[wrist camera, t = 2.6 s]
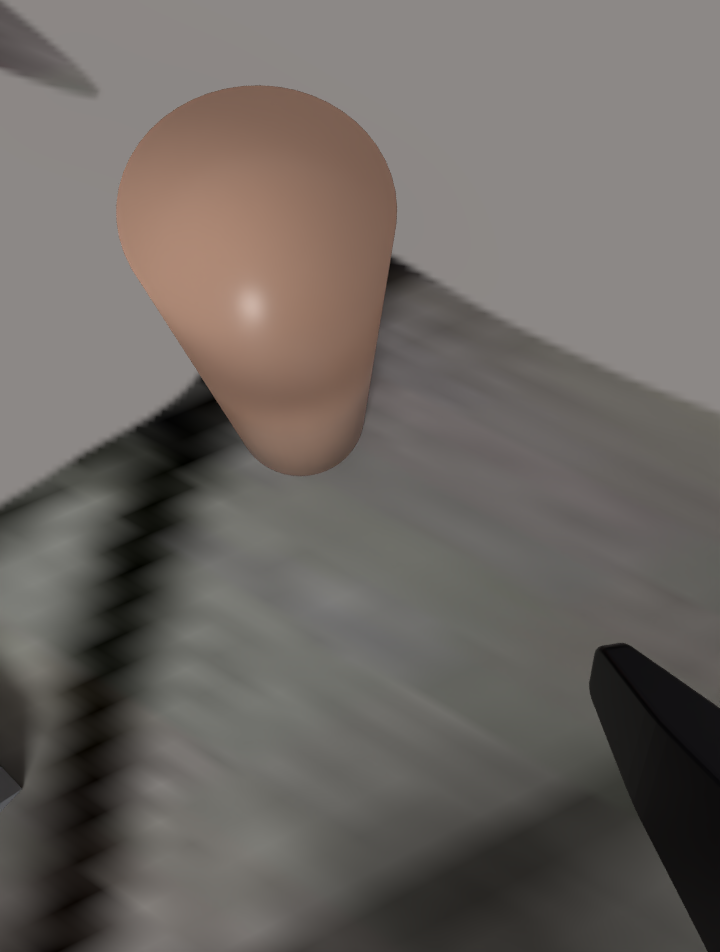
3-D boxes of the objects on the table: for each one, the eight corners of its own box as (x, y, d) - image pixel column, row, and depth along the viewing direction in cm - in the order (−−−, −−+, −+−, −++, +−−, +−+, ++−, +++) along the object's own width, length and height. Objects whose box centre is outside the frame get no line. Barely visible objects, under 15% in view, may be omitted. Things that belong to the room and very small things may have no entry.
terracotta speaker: (388, 435, 22) (449, 254, 10) (276, 499, 22) (200, 388, 10) (323, 332, 23) (309, 44, 11) (214, 391, 23) (67, 158, 10)
